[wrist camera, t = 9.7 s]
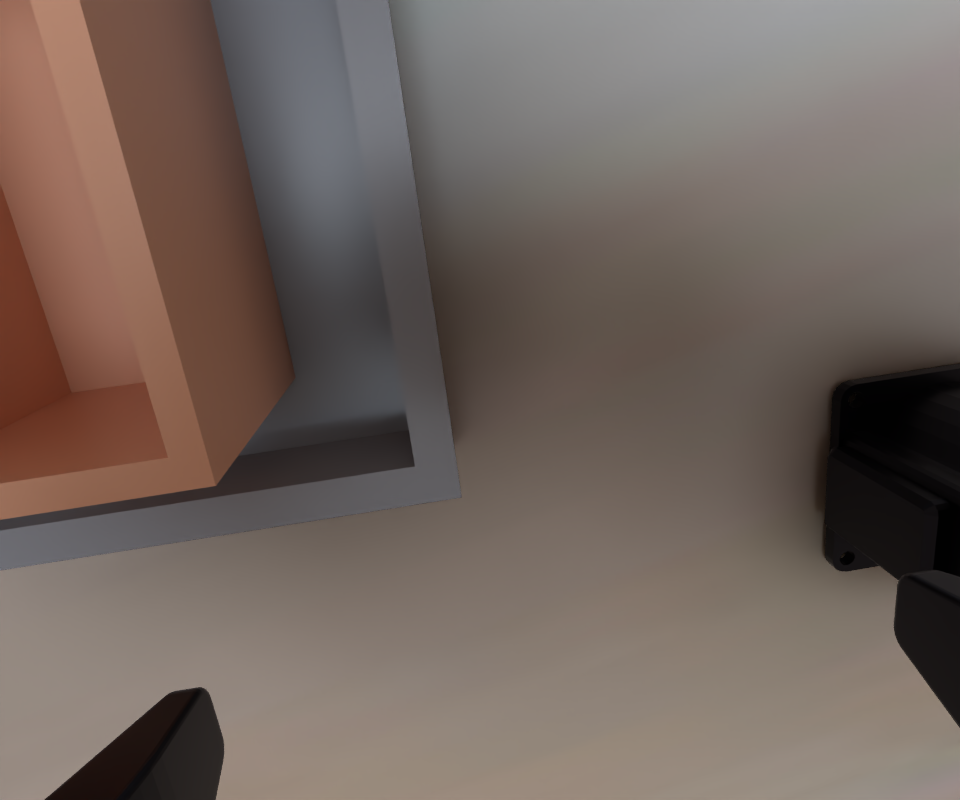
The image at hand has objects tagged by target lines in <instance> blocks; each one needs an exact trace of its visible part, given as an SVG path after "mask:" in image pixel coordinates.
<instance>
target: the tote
mask: <svg viewBox="0 0 960 800" xmlns="http://www.w3.org/2000/svg"><path fill="white" fill-rule="evenodd" d="M295 378H296V377H295V373H294V368H293V364H292V359H291V355H290V351H289V346H288V342H287V337H286V333H285V328H284V324H283V320H282V315H281V311H280V306H279V302H278V298H277V293H276V289H275V284H274V280H273V275H272V271H271V267H270V262H269V258H268V253H267V249H266V244H265V240H264V236H263V231H262V227H261V222H260V218H259V214H258V209H257V205H256V200H255V196H254V191H253V187H252V183H251V178H250V174H249V169H248V165H247V160H246V156H245V152H244V147H243V143H242V138H241V134H240V129H239V125H238V121H237V116H236V112H235V107H234V103H233V99H232V94H231V90H230V85H229V81H228V76H227V72H226V68H225V63H224V59H223V54H222V50H221V45H220V41H219V37H218V32H217V28H216V23H215V19H214V14H213V10H212V6H211V1H210V0H0V520H2V519H9V518H15V517H21V516H28V515H34V514H40V513H47V512H53V511H59V510H66V509H72V508H79V507H85V506H91V505H98V504H104V503H110V502H117V501H123V500H129V499H136V498H142V497H148V496H155V495H161V494H167V493H174V492H180V491H187V490H193V489H199V488H206V487H212V486H216V485H217V484H218V482H219V481H220V480H221V478H222V477H223V476H224V474H225V473H226V471H227V470H228V469H229V467H230V466H231V465H232V463H233V462H234V461H235V459H236V458H237V456H238V455H239V454H240V452H241V451H242V450H243V448H244V447H245V446H246V444H247V443H248V442H249V440H250V439H251V437H252V436H253V435H254V433H255V432H256V431H257V429H258V428H259V427H260V425H261V424H262V422H263V421H264V420H265V418H266V417H267V416H268V414H269V413H270V412H271V410H272V409H273V408H274V406H275V405H276V403H277V402H278V401H279V399H280V398H281V397H282V395H283V394H284V393H285V391H286V390H287V388H288V387H289V386H290V384H291V383H292V382H293V380H294V379H295Z"/></svg>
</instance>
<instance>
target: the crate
mask: <svg viewBox="0 0 960 800" xmlns="http://www.w3.org/2000/svg"><path fill="white" fill-rule="evenodd" d="M210 1H211V6H212V10H213V14H214V19H215V23H216V28H217V32H218V37H219V41H220V45H221V50H222V54H223V59H224V63H225V68H226V72H227V76H228V81H229V85H230V90H231V94H232V99H233V103H234V107H235V112H236V116H237V121H238V125H239V129H240V134H241V138H242V143H243V147H244V152H245V156H246V160H247V165H248V169H249V174H250V178H251V183H252V187H253V191H254V196H255V200H256V205H257V209H258V214H259V218H260V222H261V227H262V231H263V236H264V240H265V244H266V249H267V253H268V258H269V262H270V267H271V271H272V275H273V280H274V284H275V289H276V293H277V298H278V302H279V306H280V311H281V315H282V320H283V324H284V328H285V333H286V337H287V342H288V346H289V351H290V355H291V359H292V364H293V368H294V373H295V377H296V378H295V379H294V380H293V382H292V383H291V384H290V386H289V387H288V388H287V390H286V391H285V393H284V394H283V395H282V397H281V398H280V399H279V401H278V402H277V403H276V405H275V406H274V408H273V409H272V410H271V412H270V413H269V414H268V416H267V417H266V418H265V420H264V421H263V422H262V424H261V425H260V427H259V428H258V429H257V431H256V432H255V433H254V435H253V436H252V437H251V439H250V440H249V442H248V443H247V444H246V446H245V447H244V448H243V450H242V451H241V452H240V454H239V455H238V456H237V458H236V459H235V461H234V462H233V463H232V465H231V466H230V467H229V469H228V470H227V471H226V473H225V474H224V476H223V477H222V478H221V480H220V481H219V482H218V484H217V485H216V486H212V487H206V488H199V489H193V490H187V491H180V492H174V493H167V494H161V495H155V496H148V497H142V498H136V499H129V500H123V501H117V502H110V503H104V504H98V505H91V506H85V507H79V508H72V509H66V510H59V511H53V512H47V513H40V514H34V515H28V516H21V517H15V518H9V519H2V520H0V570H6V569H12V568H18V567H25V566H31V565H37V564H44V563H50V562H56V561H63V560H69V559H75V558H82V557H88V556H94V555H101V554H107V553H113V552H120V551H126V550H132V549H139V548H145V547H151V546H158V545H164V544H170V543H177V542H183V541H189V540H196V539H202V538H208V537H214V536H221V535H227V534H233V533H240V532H246V531H252V530H259V529H265V528H271V527H278V526H284V525H290V524H297V523H303V522H309V521H316V520H322V519H328V518H335V517H341V516H347V515H354V514H360V513H366V512H373V511H379V510H385V509H392V508H398V507H404V506H411V505H417V504H423V503H429V502H436V501H442V500H448V499H455V498H461V497H462V496H461V489H460V482H459V475H458V469H457V462H456V455H455V448H454V442H453V435H452V428H451V421H450V415H449V408H448V401H447V394H446V388H445V381H444V374H443V367H442V360H441V354H440V347H439V340H438V333H437V327H436V320H435V313H434V306H433V300H432V293H431V286H430V279H429V273H428V266H427V259H426V252H425V245H424V239H423V232H422V225H421V218H420V212H419V205H418V198H417V191H416V185H415V178H414V171H413V164H412V158H411V151H410V144H409V137H408V131H407V124H406V117H405V110H404V103H403V97H402V90H401V83H400V76H399V70H398V63H397V56H396V49H395V43H394V36H393V29H392V22H391V16H390V9H389V2H388V0H210Z"/></svg>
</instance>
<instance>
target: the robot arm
mask: <svg viewBox="0 0 960 800" xmlns="http://www.w3.org/2000/svg"><path fill="white" fill-rule="evenodd" d="M853 393H856V396H855V399H854V400H853V401H852V402H851V403H849V402H848V401H849V397H850V396H851V395H852V394H853ZM825 524H826V525H827V526H826V548H825V556H826V560H827V561H828V562H829V563H830V564H831V565H832V566H833V567H834V568H836V569H837V570H839V571H852V570H857V569H863V568H869V567H875V566H880V567H882V568H883V569H884V570H886V571H887V572H888V573H890V574H891V575H892V576H894V577H895V578H896V579H897V580H899V581H898V585H897V595H896V606H895V617H894V631H895V635H896V638H897V641H898V643H899V645H900V646H901V648H902V649H903V651H904V652H905V654H906V655H907V656H908V658H909V659H910V660H911V662H912V663H913V665H914V666H915V667H916V669H917V670H918V671H919V673H920V674H921V675H922V677H923V678H924V680H925V681H926V682H927V684H928V685H929V686H930V688H931V689H932V691H933V692H934V693H935V695H936V696H937V697H938V699H939V700H940V702H941V703H942V704H943V706H944V707H945V708H946V710H947V711H948V712H949V714H950V715H951V717H952V718H953V719H954V721H955V722H956V723H957V725H958V726H959V728H960V364H954V365H948V366H941V367H935V368H928V369H922V370H915V371H909V372H902V373H895V374H889V375H882V376H876V377H869V378H863V379H856V380H850V381H846V382H843V383H842V384H840V385H839V386H838V387H837V388H836V390H835V391H834V394H833V398H832V417H831V438H830V453H829V455H828V463H827V485H826V508H825ZM845 552H846V554H845V555H844V556H843V557H842V558H840V557H841V555H842V554H843V553H845ZM223 759H224V741H223V736H222V733H221V729H220V726H219V723H218V720H217V716H216V713H215V710H214V707H213V703H212V700H211V697H210V695H209V693H208V691H207V690H206V689H204V688H202V687H198V688H191V689H185V690H179V691H174V692H171V693H169V694H168V695H166V696H165V697H164V698H163V699H161V700H160V701H159V702H158V703H157V704H156V705H154V706H153V707H152V708H151V709H150V710H149V711H147V712H146V713H145V714H144V715H143V716H142V717H140V718H139V719H138V720H137V721H136V722H135V723H133V724H132V725H131V726H130V727H129V728H128V729H126V730H125V731H124V732H123V733H122V734H121V735H120V736H118V737H117V738H116V739H115V740H114V741H113V742H111V743H110V744H109V745H108V746H107V747H106V748H104V749H103V750H102V751H101V752H100V753H99V754H97V755H96V756H95V757H94V758H93V759H92V760H90V761H89V762H88V763H87V764H86V765H85V766H83V767H82V768H81V769H80V770H79V771H78V772H76V773H75V774H74V775H73V776H72V777H71V778H69V779H68V780H67V781H66V782H65V783H64V784H62V785H61V786H60V787H59V788H58V789H57V790H55V791H54V792H53V793H52V794H51V795H50V796H48V797H47V798H46V799H45V800H216V795H217V790H218V785H219V780H220V775H221V769H222V764H223Z"/></svg>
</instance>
